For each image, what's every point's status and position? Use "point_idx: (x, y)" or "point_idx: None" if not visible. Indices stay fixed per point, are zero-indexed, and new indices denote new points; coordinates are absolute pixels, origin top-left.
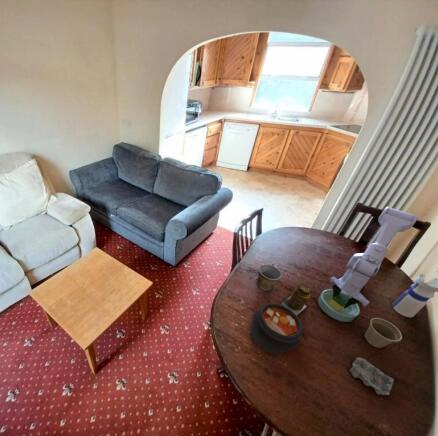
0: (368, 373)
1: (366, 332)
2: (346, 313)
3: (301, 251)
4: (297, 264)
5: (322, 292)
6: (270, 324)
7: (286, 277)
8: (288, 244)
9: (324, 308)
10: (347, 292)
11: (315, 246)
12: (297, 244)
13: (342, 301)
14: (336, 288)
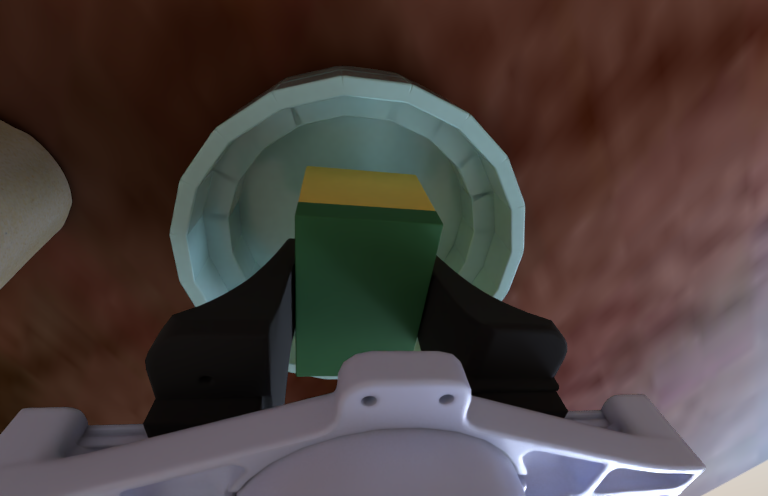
0: None
1: (4, 162)
2: (276, 238)
3: (676, 425)
4: (687, 338)
5: (523, 232)
6: None
7: (761, 164)
8: (752, 412)
9: (408, 79)
10: (359, 451)
11: None
12: (702, 443)
13: (338, 267)
14: (512, 362)
